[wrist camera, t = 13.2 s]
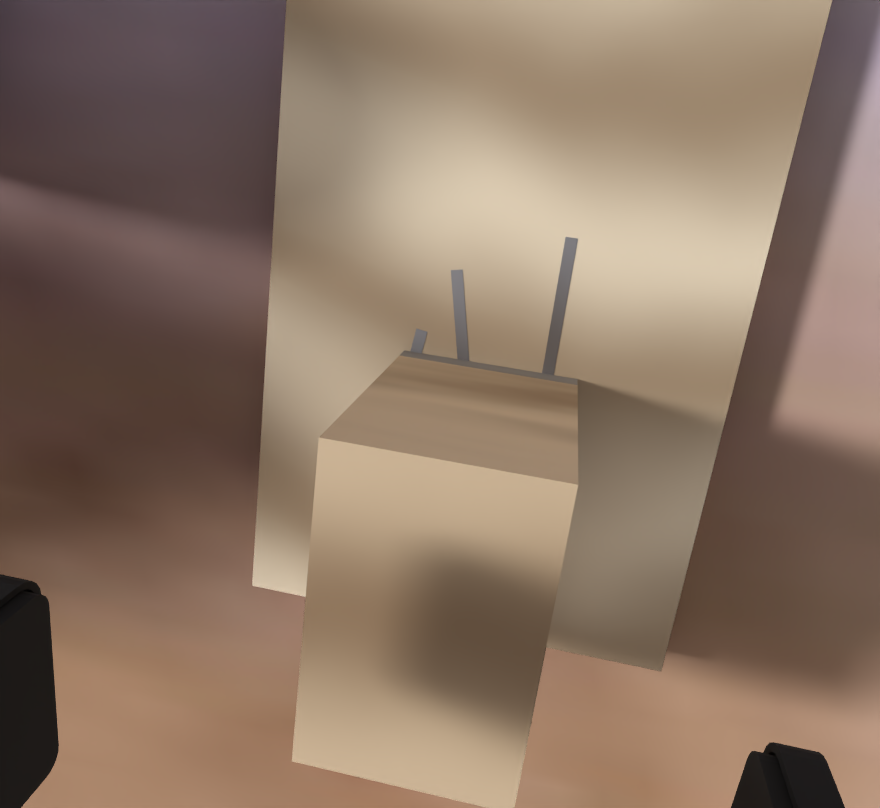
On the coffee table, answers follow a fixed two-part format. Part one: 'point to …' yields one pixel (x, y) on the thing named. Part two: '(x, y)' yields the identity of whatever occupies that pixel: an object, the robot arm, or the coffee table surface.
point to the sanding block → (436, 575)
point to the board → (534, 249)
